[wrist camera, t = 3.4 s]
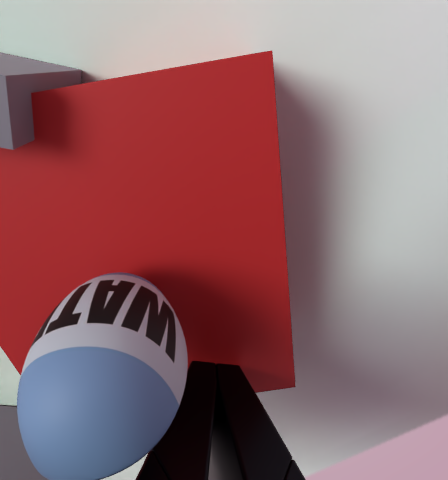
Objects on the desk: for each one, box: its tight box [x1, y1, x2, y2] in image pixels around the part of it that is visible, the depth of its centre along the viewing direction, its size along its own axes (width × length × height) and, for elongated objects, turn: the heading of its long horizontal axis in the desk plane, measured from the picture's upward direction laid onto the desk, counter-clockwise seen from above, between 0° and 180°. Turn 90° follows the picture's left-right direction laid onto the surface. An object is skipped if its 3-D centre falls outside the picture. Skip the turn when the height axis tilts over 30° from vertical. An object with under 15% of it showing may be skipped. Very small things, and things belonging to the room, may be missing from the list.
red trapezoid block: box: [0, 51, 295, 480], centre depth 7 cm, size 8×7×6 cm
